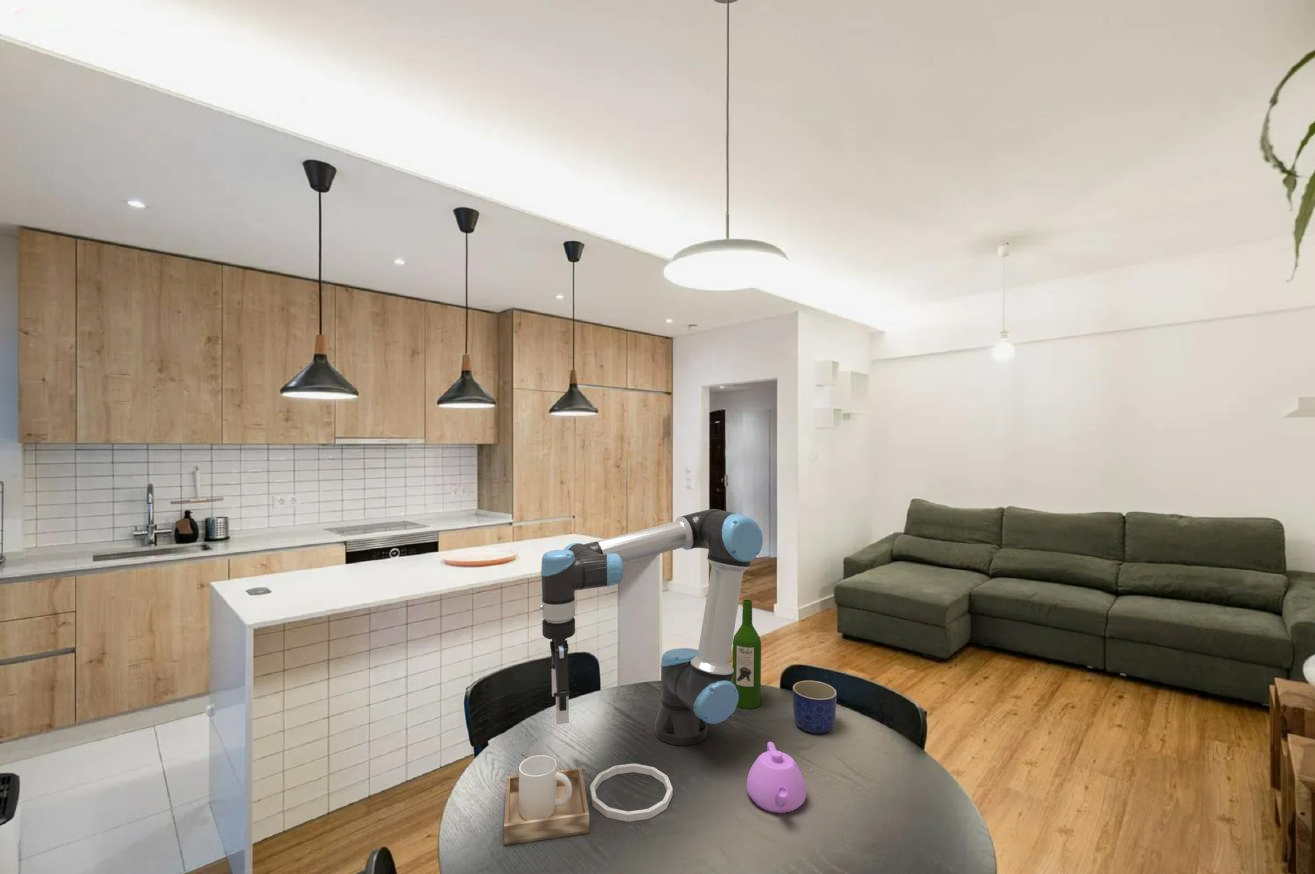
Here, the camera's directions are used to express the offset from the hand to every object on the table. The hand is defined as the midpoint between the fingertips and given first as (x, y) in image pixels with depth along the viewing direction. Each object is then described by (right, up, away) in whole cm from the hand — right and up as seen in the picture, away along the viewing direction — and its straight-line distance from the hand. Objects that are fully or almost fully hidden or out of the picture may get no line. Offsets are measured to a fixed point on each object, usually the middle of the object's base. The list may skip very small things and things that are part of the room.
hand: (560, 708), depth 136 cm
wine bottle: (+51, -21, +49) cm, 74 cm away
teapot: (+51, -22, +1) cm, 55 cm away
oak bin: (-2, -21, -5) cm, 22 cm away
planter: (+69, -22, +35) cm, 80 cm away
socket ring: (+16, -21, +2) cm, 27 cm away
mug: (-2, -21, -5) cm, 22 cm away
